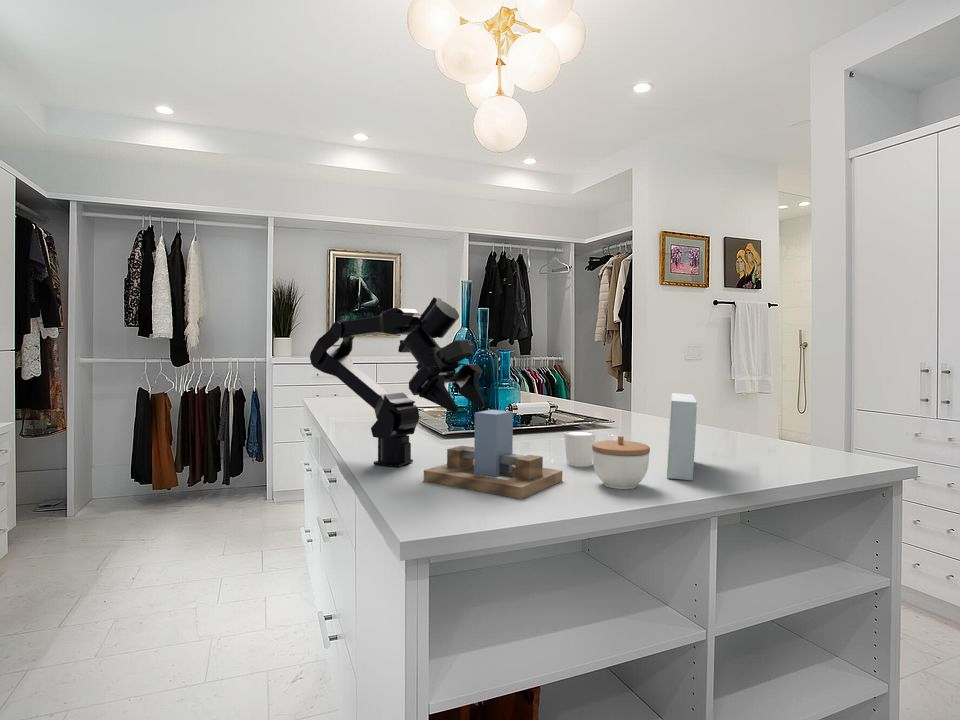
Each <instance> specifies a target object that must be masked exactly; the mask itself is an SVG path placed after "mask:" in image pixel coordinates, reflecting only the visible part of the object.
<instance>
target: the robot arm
mask: <svg viewBox="0 0 960 720" xmlns="http://www.w3.org/2000/svg"><path fill="white" fill-rule="evenodd" d="M459 319H460V314H459V312H458V311H457V310H456V308H455V307H453V306H451V305H450V304H449V303H447V302H445V301H443V300H442V299H441V298H440V297H435V296H434V297H432V299H431V300H430V302H429V304H428V305H427V307H426V308H425V310H424V311H423V313H421V314H420V313H419V312H418V310H417V309H414V308H402V307H401V308H399V307H392V308H390V309H387V310H385V311H382V312H381V313H380V314H379V315H376V316H370V317H363V318H356V319H350V320H337V321H334V322H333V323H332V325H331V326H330V328H329V330H327V331H326V332H325V334H323V335H322V336H321V337H319V338H318V340H317V341H316V342H315V344H314V346H313V347H312V350H311V352H310V353H309V360H310V364H311V366H312V367H313V368H314V369H316V370H318V371H320V372H322V373H323V374H327V375H330V376H334V377H335V378H337V379H339V381H341V382H342V383H343V384H344V385H345V386H347V387H348V388H349V389H350V390H351V391H353V392H354V393H355V395H357V396H358V397H359V398H361V399H362V400H363V401H364V402H365V403H366V404H368V405H369V406H370V407H371V408H372V409H373V410H374V412H375V417H376V418H375V419H376V421H375V422H374V423H373V425H372V426H371V427H370V430H371V434H372V437H373V438H377V460H374V461H373V464H374V465H379V466H387V467H395V468H398V467H402V466H405V465H408V464H410V463H413V462H414V459H412V448H411V447H412V443H411V442H410V435H414V434H415V431H416V428H417V425H418V423H419V421H420V413H419V412H420V411H419V408H418V406H417V405H416V404H415V403H416V401H415V400H412V399H410V398H409V397H408V395H406V394H405V393H404V392H395V393H389V392H388V390H385V388H383V387H382V386H381V385H379V384H378V383H377V382H376V381H374V380H373V379H372V378H371V377H370V376H368V374H366V373H365V372H363V371H362V370H361V369H360V368H359V367H358V366H356V365H355V364H354V363H353V362H352V357H351V352H352V351H353V340H354V338H356V337H360V336H361V337H362V336H370V335H377V334H378V335H380V334H386V335H395V336H397V335H400V336H401V335H403V336H404V335H405V336H406V337H405V338H404V339H400V340H399V345H398V349H397V351H398V353H400V354H401V353H406V354H407V353H409V354H411V355H412V357H413V358H414V359H415V361H416V362H417V363H418V364H417V365H416V366H415V368H416V369H417V371H416V372H415V374H414V375H413V376H412V377H411V379H410V380H409V381H408V389H409V391H410V392H411V394H412V395H413V396H418V397H420V398H422V399H425V400H426V401H430V402H432V403H434V404H436V405H438V406H440V407H441V408H444V409H446V411H449V412H452V414H456V413H457V412H459V407H458V405H457V403H456V402H455V400H454V399H453V396H451V394H450V392H449V391H448V389H447V388H446V385H445V384H451V385H452V386H453V387H454V389H456V390H457V393H459V394H460V395H461V396H462V397H464V398H465V399H466V400H468V401H469V402H471V403H472V404H473V406H476V407H477V408H479V409H480V410H482V409H483V408H485V407H486V406H485V402H484V399H483V396H482V393H481V390H480V386H479V379H481V375H482V373H483V370H482V368H481V367H480V366H479V364H476V363H475V364H473V363H471V364H463V365H462V367H460V366H461V364H462V363H461V361H463V360H465V359H467V358H468V357H473V356H474V352H475V344H473V343H472V341H471V340H468V339H456V340H454V341H452V342H450V343H448V344H447V345H445V346H443V347H441V346H440V345H439V344H438V343H437V341H436V340H435V339H437V338H438V339H439V338H440V339H442V338H444V337H445V336H446V334H447V333H448V332H449V331H450V330H451V328H452V327H453V326H454V325H455V323H456V322H457V320H459ZM340 339H342V341H341V343H340V344H336V343H338V341H340ZM459 367H460V369H459V370H458V371H457V369H458V368H459Z"/></svg>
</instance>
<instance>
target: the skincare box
mask: <svg viewBox="0 0 960 720" xmlns="http://www.w3.org/2000/svg"><path fill="white" fill-rule="evenodd" d="M697 405H698V402H697V400H696V397H695V395H694V394H691V393H690V394H688V393H676V392H673V393H671V399H670V412H669V413H670V414H669V427H668V440H667V441H668V442H667V443H668V444H667V446H668V447H667V467H666V478H667V479H672V480H684V481H693V479H694V478H693V475H694V468H695V466H694V465H695V464H694V463H695V449H696V431H697V411H698V410H697V408H698V407H697Z"/></svg>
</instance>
